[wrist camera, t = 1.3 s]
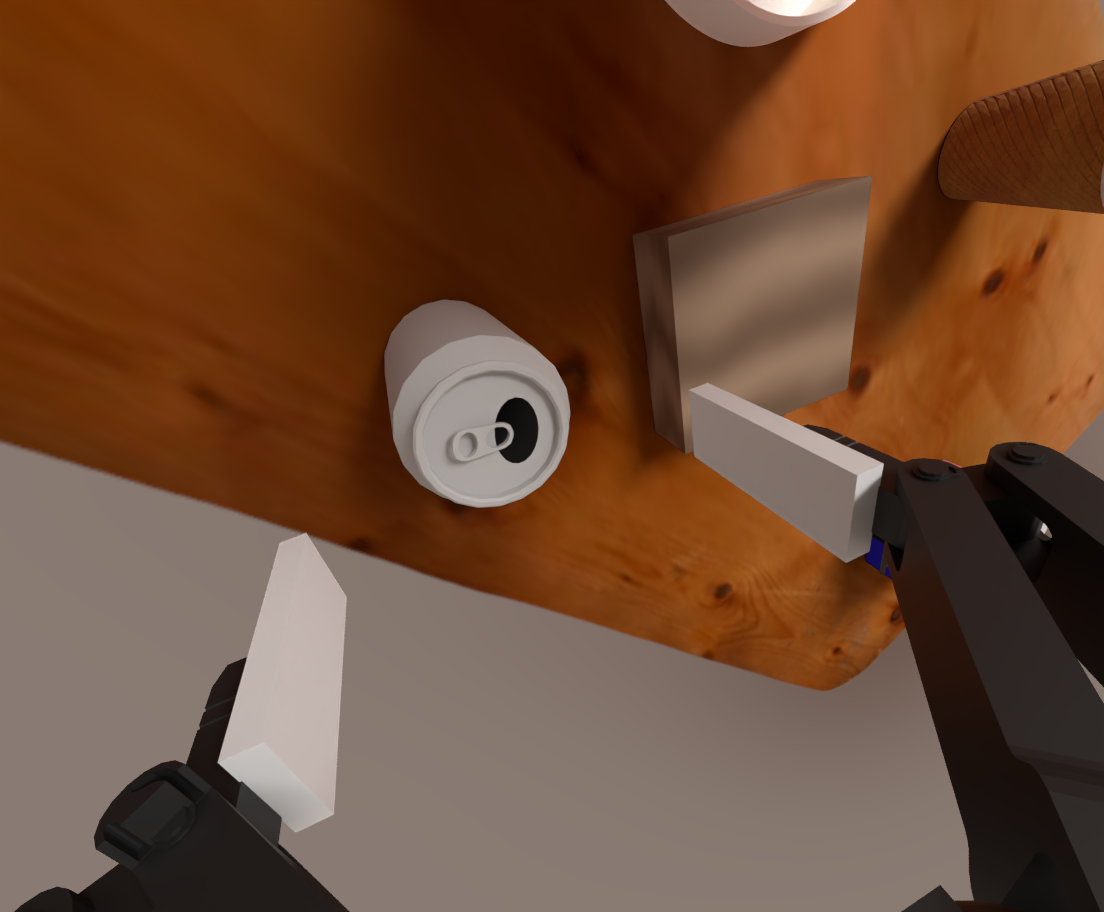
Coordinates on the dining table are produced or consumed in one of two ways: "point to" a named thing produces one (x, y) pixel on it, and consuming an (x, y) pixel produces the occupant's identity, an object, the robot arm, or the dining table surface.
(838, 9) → the potted cactus
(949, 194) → the disposable coffee cup
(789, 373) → the plinth
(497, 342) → the can
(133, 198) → the dining table surface
